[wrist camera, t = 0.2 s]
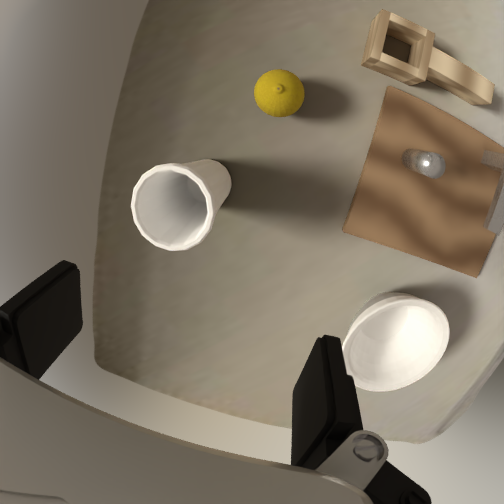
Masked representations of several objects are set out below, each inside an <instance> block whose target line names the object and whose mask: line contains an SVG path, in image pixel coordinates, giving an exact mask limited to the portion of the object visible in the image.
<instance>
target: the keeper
mask: <svg viewBox="0 0 504 504" xmlns="http://www.w3.org/2000/svg"><path fill="white" fill-rule="evenodd" d="M481 163H482V164H484V165H485V166H487V167H489V168H490V169H492V170H495V171H498V172H501V175H500V178H499V182H498V185H497V188H496V191H495V194H494V197H493V200H492V203H491V206H490V209H489V211H488V214H487V217H486V219H485V222H484V225H483V227H484V228H486V229H488V230H490V231H492V232H493V233H495V234H497V235H499V234H500V232H501V229H502V227H503V224H504V154H502V153H497V152H492V151H487V150H484V153H483V157H482V160H481Z"/></svg>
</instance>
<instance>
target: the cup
mask: <svg viewBox="0 0 504 504" xmlns="http://www.w3.org/2000/svg"><path fill="white" fill-rule="evenodd" d="M230 189H231V177H230V175H229V173H228V171H227V169H226V167H224V166H223V165H222V164H220V163H219V162H217V161H214V160H211V159H205V160H199V161H195V162H190V163H185V164H178V163H170V164H164V165H157V166H155V167H153V168H152V169H150V170H149V171H147V172H146V173H144V174H143V175H142V176H141V178H140V180H139V181H138V183H137V184H136V186H135V188H134V190H133V196H132V202H131V208H132V213H133V218H134V222H135V224H136V225H137V227H138V229H139V230H140V232H141V234H142V235H143V236H144V237H145V238H146V239H147V240H149V241H150V242H151V243H152V244H154V245H155V246H158V247H161V248H164V249H167V250H170V251H178V250H188V249H190V248H192V247H193V246H195V245H197V244H199V243H201V242H202V241H203V239H204V238H205V237H206V236H207V234H208V233H209V232H210V231H211V229H212V225H213V221H214V218H215V214H216V213H217V211H218V210H219V208H220V207H221V205H222V203H223V202H224V200H225V199H226V198H227V196H228V195H229V192H230Z"/></svg>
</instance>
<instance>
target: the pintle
mask: <svg viewBox="0 0 504 504" xmlns="http://www.w3.org/2000/svg"><path fill="white" fill-rule="evenodd" d="M402 163H403V165H404V166H405V167H406V168H407V169H409V170H412V171H414V172H417V173H420V174H423V175H425V176H428V177H430V178H433V179H437V178H439V177H441V176H442V175H443V174H444V172H445V167H446V165H445V161H444V159H443V157H442V156H441V155H440V154H438V153H433V152H428V151H423V150H418V149H413V148H409V149H407V150H405V151H404V153H403V155H402Z"/></svg>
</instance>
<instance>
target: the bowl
mask: <svg viewBox="0 0 504 504" xmlns="http://www.w3.org/2000/svg"><path fill="white" fill-rule="evenodd" d="M449 335H450V328H449V322H448V319H447V317H446V315H445V313H444V312H443V311H442V310H441V308H440V307H438V306H437V305H435V304H434V303H432V302H430V301H427V300H424V299H419V298H418V297H416V296H414V295H411V294H407V293H398V292H394V293H392V292H384V293H380V294H377V295H375V296H373V297H371V298H370V299H368V300H367V301H366V302H365V303H364V304H363V305H362V307H361V308H360V310H359V311H358V312H357V314H356V315H355V317H354V318H353V320H352V322H351V324H350V326H349V329H348V333H347V337H346V339H345V341H344V343H343V346H342V351H343V356H344V361H345V366H346V371H347V375H351V376H352V377H353V379H354V384H355V385H356V386H357V387H360V388H362V389H365V390H369V391H377V392H384V391H392V390H396V389H400V388H403V387H405V386H408V385H410V384H412V383H414V382H416V381H417V380H419V379H421V378H422V377H424V376H425V375H426V374H427V373H429V372H430V371H431V370H432V369H433V368H434V367H435V366H436V364H437V363H438V362H439V360H440V359H441V358H442V356H443V354H444V352H445V350H446V348H447V345H448V341H449Z"/></svg>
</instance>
